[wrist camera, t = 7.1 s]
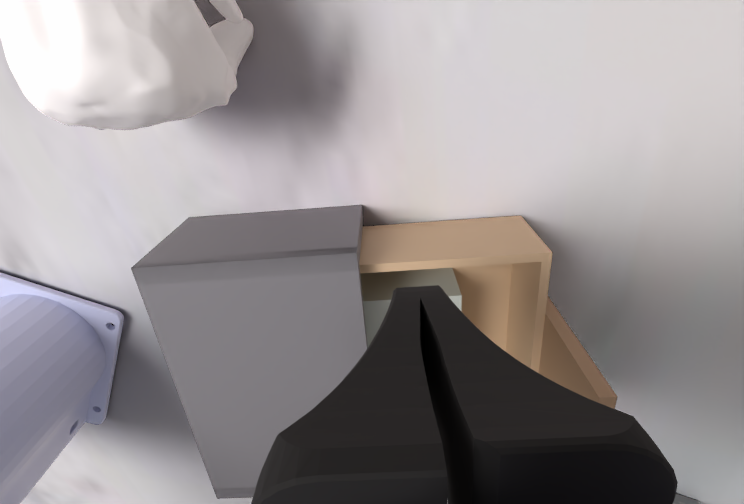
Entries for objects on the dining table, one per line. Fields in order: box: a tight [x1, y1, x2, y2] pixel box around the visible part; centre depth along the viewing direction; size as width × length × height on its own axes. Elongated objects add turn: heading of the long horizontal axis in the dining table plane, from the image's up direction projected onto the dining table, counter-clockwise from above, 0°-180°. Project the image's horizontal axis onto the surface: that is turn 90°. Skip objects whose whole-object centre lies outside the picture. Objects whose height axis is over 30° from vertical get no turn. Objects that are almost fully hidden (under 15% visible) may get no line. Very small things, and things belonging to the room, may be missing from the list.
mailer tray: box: [359, 216, 617, 409], centre depth 20 cm, size 12×12×9 cm
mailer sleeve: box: [131, 205, 368, 499], centre depth 22 cm, size 9×14×6 cm, turn 5°
